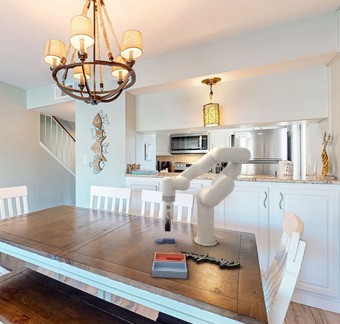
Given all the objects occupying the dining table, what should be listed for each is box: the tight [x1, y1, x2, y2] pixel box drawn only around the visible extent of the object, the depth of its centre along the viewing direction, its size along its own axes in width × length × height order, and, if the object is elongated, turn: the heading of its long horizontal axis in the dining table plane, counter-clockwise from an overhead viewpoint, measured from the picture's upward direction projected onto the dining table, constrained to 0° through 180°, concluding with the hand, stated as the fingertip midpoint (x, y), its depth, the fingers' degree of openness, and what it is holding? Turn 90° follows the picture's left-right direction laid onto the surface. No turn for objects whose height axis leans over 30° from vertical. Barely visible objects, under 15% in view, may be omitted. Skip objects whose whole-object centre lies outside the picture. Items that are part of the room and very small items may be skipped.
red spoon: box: [158, 256, 182, 261], centre depth 97 cm, size 11×4×2 cm, turn 85°
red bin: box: [153, 252, 187, 263], centre depth 97 cm, size 14×8×3 cm, turn 85°
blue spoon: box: [155, 237, 176, 245], centre depth 120 cm, size 11×4×2 cm, turn 85°
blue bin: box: [151, 260, 188, 280], centre depth 88 cm, size 14×8×3 cm, turn 85°
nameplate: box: [180, 250, 241, 270], centre depth 98 cm, size 28×2×10 cm
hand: (167, 228), depth 119 cm, fingers open, 9 cm apart
